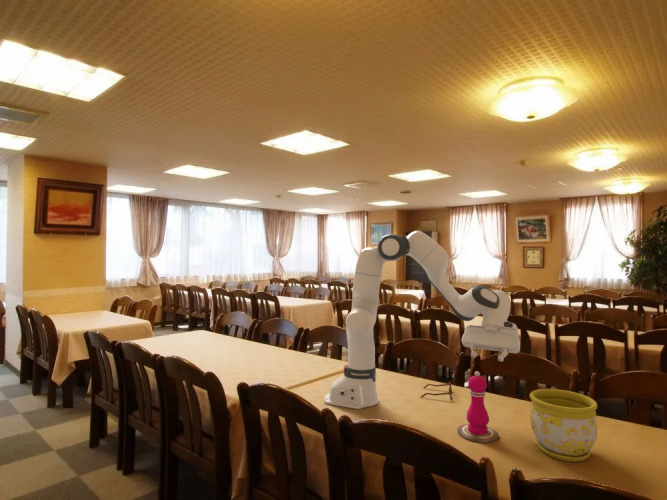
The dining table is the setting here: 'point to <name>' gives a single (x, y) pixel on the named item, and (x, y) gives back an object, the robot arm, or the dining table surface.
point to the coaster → (486, 438)
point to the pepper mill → (477, 406)
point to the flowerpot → (563, 423)
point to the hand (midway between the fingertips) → (486, 358)
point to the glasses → (439, 393)
